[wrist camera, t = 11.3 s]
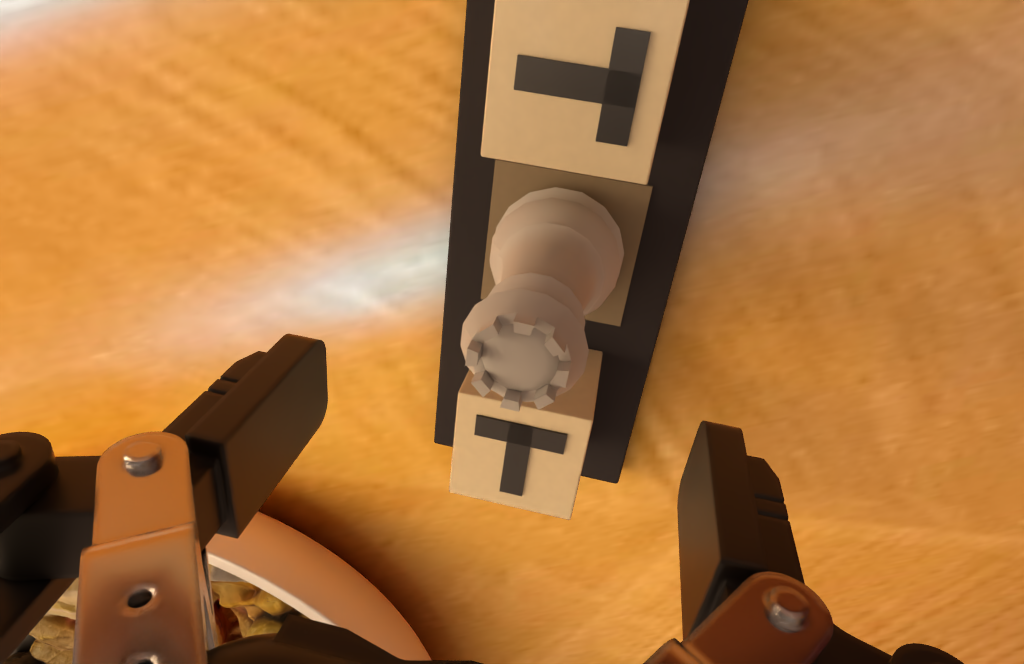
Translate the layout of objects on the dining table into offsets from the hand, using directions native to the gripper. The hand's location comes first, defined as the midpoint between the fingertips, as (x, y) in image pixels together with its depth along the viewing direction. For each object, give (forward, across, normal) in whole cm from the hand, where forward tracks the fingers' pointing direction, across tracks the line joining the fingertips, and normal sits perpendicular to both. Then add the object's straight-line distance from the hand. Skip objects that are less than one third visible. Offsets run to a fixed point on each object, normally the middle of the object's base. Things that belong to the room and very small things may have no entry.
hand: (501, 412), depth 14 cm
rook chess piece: (+10, 0, 0) cm, 10 cm away
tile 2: (+10, 0, -6) cm, 12 cm away
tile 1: (+10, 0, +6) cm, 12 cm away
